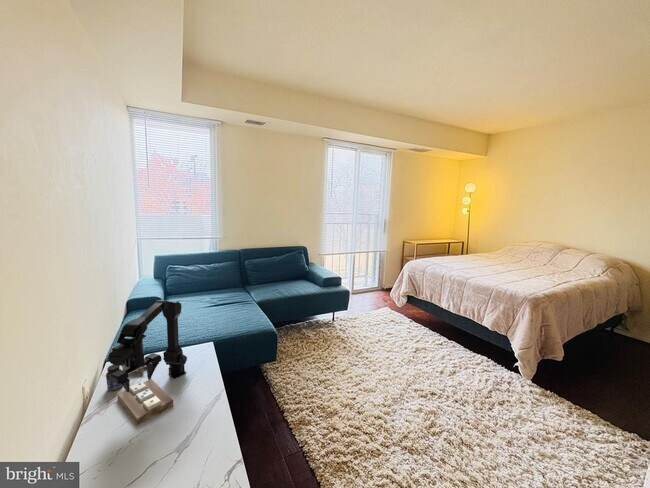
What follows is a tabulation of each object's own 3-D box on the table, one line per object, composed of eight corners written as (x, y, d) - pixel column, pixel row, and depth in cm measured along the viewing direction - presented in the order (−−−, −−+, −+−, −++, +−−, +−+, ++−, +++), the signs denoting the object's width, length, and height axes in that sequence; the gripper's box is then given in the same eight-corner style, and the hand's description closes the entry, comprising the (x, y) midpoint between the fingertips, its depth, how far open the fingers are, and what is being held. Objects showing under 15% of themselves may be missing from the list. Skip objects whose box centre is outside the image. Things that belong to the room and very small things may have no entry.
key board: (151, 384, 139) (151, 378, 139) (173, 405, 125) (173, 399, 124) (118, 399, 128) (117, 393, 128) (137, 425, 114) (137, 418, 113)
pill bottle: (114, 392, 133) (112, 371, 132) (104, 391, 134) (101, 369, 133) (126, 384, 139) (124, 364, 138) (116, 383, 140) (113, 362, 139)
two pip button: (142, 387, 135) (141, 381, 134) (146, 391, 132) (145, 385, 131) (130, 392, 131) (129, 386, 130) (134, 397, 128) (133, 391, 127)
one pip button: (156, 402, 125) (155, 395, 124) (161, 407, 122) (160, 400, 121) (143, 408, 121) (143, 401, 121) (148, 413, 118) (147, 406, 118)
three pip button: (149, 394, 130) (148, 388, 129) (153, 399, 127) (153, 392, 126) (136, 400, 126) (136, 393, 125) (141, 405, 123) (140, 398, 122)
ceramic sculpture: (128, 349, 155) (155, 351, 156) (129, 364, 157) (156, 365, 157) (114, 360, 145) (143, 362, 145) (115, 375, 146) (143, 377, 146)
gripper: (144, 338, 131) (147, 369, 133) (99, 358, 114) (103, 393, 116) (160, 343, 126) (163, 375, 128) (116, 364, 109) (120, 401, 112)
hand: (138, 385), depth 121 cm, fingers open, 9 cm apart
